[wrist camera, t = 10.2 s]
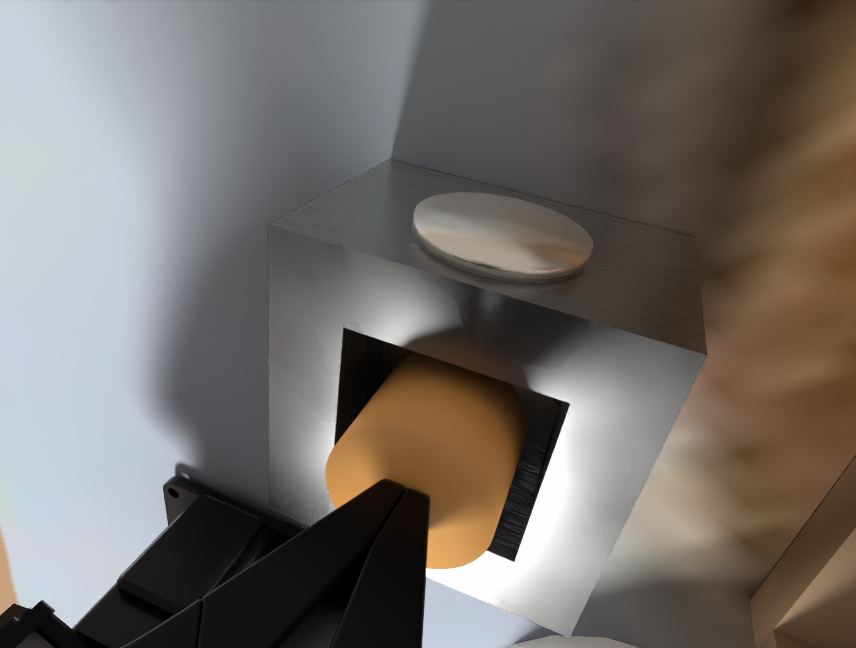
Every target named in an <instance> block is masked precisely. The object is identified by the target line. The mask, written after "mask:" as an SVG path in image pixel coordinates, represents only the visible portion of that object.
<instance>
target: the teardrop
mask: <svg viewBox="0 0 856 648" xmlns="http://www.w3.org/2000/svg"><path fill="white" fill-rule="evenodd" d="M509 648H639V647H636V646H633V645H629V644H626V643H622V642H619V641H616V640H612V639H609V638H605V637H586V636H570V638H568V637H566V636H562V635H551V636H547V637H542V638H538V639H533V640H529V641H524V642H520V643H516V644H512V645H511V646H510V647H509Z"/></svg>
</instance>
